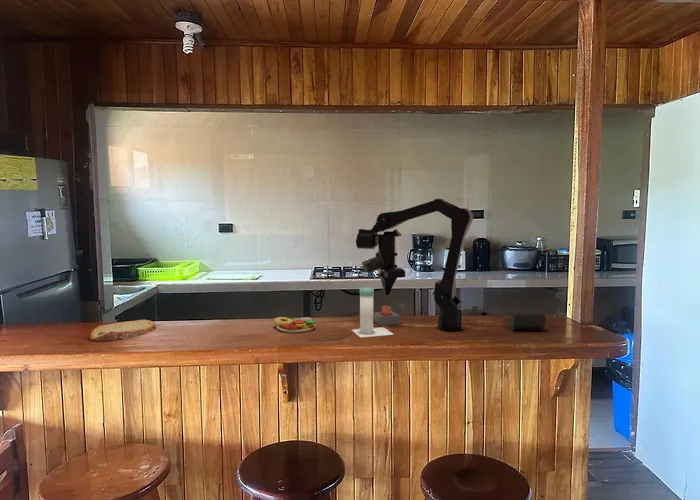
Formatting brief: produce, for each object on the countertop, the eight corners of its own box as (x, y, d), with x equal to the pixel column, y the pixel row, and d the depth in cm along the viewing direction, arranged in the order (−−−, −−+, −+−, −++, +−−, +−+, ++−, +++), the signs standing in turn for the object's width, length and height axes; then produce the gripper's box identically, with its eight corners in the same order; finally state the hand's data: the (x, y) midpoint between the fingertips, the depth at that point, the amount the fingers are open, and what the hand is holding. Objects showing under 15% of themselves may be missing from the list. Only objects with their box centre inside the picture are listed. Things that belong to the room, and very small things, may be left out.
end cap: (514, 332, 158) (514, 311, 157) (507, 326, 165) (507, 306, 164) (545, 332, 158) (546, 311, 157) (537, 326, 165) (537, 306, 164)
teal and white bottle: (370, 329, 160) (371, 287, 158) (375, 333, 155) (375, 289, 154) (357, 330, 158) (357, 287, 157) (362, 334, 154) (362, 290, 153)
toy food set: (270, 326, 166) (270, 317, 166) (307, 322, 172) (307, 313, 172) (284, 336, 155) (284, 326, 154) (322, 331, 161) (322, 321, 160)
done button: (388, 316, 172) (388, 305, 172) (392, 318, 169) (392, 307, 169) (380, 317, 171) (380, 306, 171) (383, 319, 168) (383, 307, 168)
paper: (383, 327, 163) (383, 326, 163) (393, 334, 155) (393, 333, 155) (351, 330, 160) (351, 329, 160) (360, 337, 152) (360, 336, 152)
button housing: (392, 319, 175) (392, 311, 175) (399, 324, 168) (399, 315, 168) (373, 320, 173) (373, 312, 173) (380, 325, 166) (380, 316, 166)
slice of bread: (158, 325, 168) (157, 315, 168) (149, 340, 151) (149, 328, 150) (100, 329, 164) (100, 318, 164) (85, 344, 147) (84, 331, 146)
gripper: (355, 247, 175) (356, 291, 176) (373, 253, 157) (373, 301, 158) (385, 246, 178) (385, 289, 179) (406, 251, 160) (405, 299, 162)
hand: (386, 294), depth 170 cm, fingers closed
